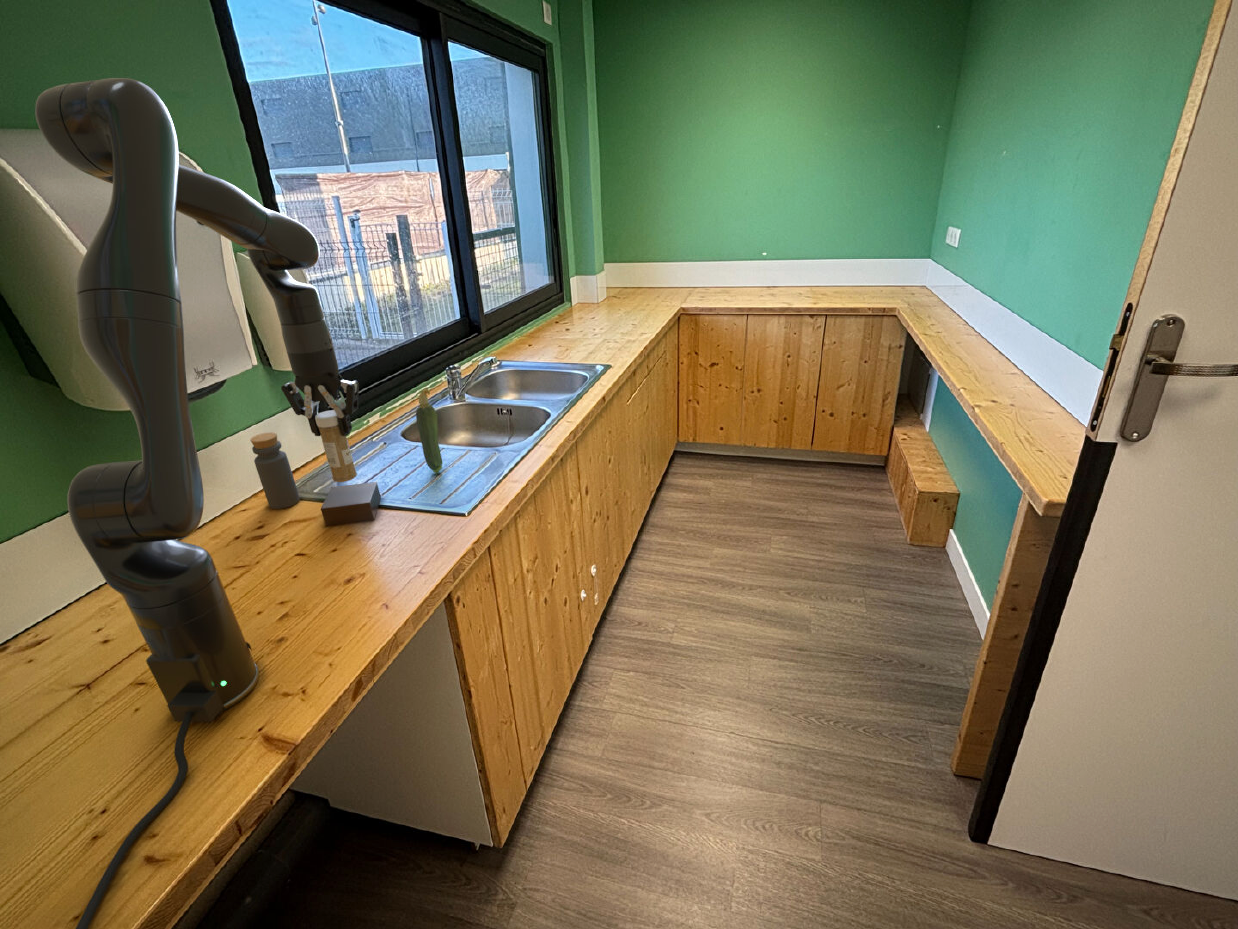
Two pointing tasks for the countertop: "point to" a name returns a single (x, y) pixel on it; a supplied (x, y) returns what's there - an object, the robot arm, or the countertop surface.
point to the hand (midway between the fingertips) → (333, 434)
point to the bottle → (274, 471)
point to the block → (351, 504)
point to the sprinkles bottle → (335, 447)
